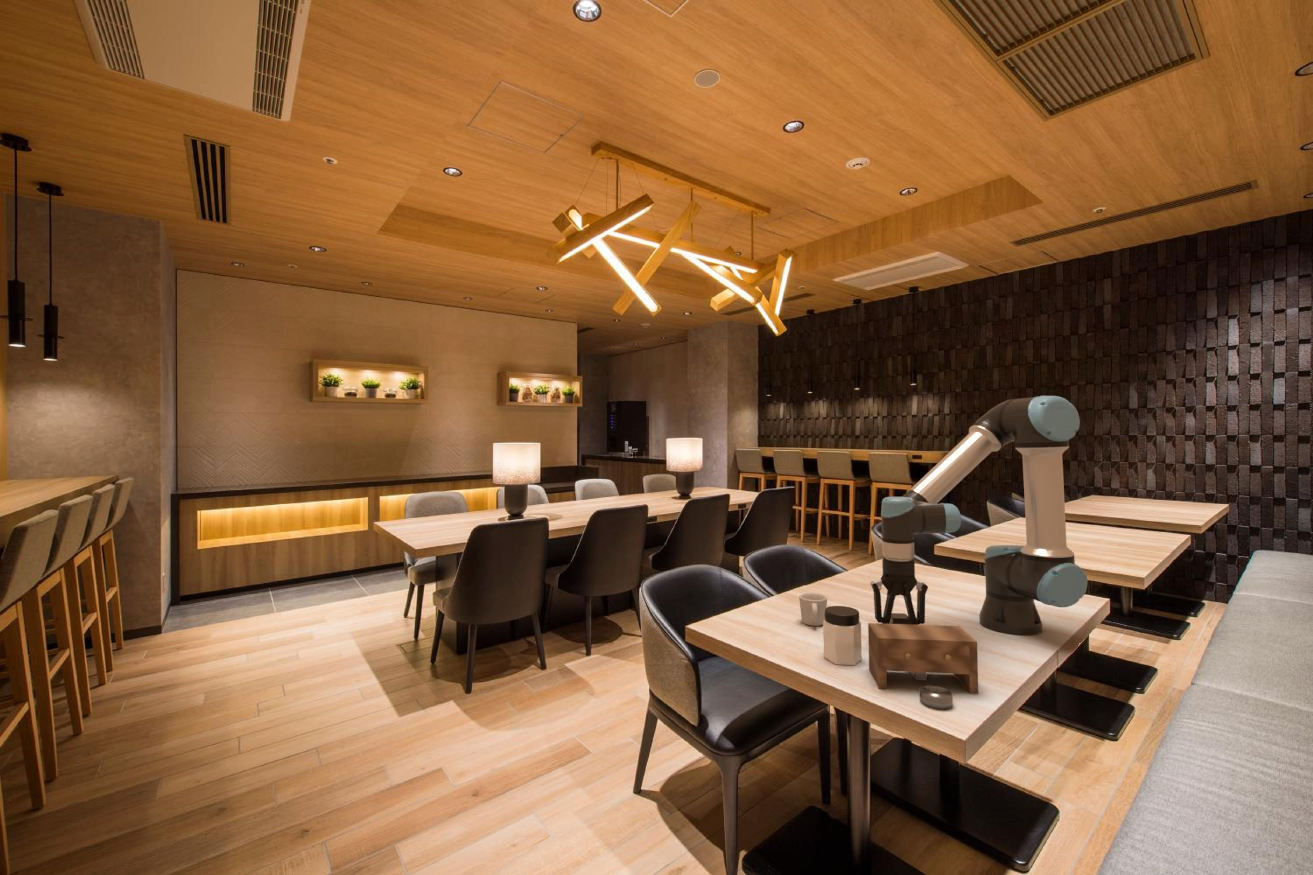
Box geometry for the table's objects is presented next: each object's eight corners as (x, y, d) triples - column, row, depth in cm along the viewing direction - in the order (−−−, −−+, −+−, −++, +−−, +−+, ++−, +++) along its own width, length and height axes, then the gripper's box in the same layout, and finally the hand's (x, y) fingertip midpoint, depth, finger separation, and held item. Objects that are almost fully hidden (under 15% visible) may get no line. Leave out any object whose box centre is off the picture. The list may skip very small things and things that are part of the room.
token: (947, 698, 116) (947, 686, 116) (956, 712, 110) (956, 699, 110) (916, 696, 117) (916, 684, 117) (924, 709, 111) (923, 697, 111)
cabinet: (960, 673, 127) (959, 626, 127) (979, 695, 117) (978, 643, 117) (869, 669, 131) (868, 622, 131) (879, 690, 120) (878, 639, 120)
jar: (833, 649, 143) (832, 603, 143) (865, 657, 138) (864, 608, 138) (819, 660, 136) (818, 611, 137) (852, 668, 131) (851, 618, 131)
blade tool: (906, 648, 142) (905, 613, 142) (930, 680, 124) (929, 640, 124) (889, 647, 143) (889, 612, 143) (911, 679, 124) (910, 639, 124)
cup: (830, 632, 156) (829, 603, 157) (800, 630, 158) (800, 602, 158) (826, 619, 167) (825, 593, 167) (799, 618, 169) (798, 592, 169)
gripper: (929, 555, 143) (931, 646, 143) (860, 554, 146) (861, 643, 146) (939, 561, 136) (941, 657, 136) (866, 560, 139) (868, 654, 138)
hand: (900, 649), depth 141 cm, fingers closed on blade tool, 4 cm apart
